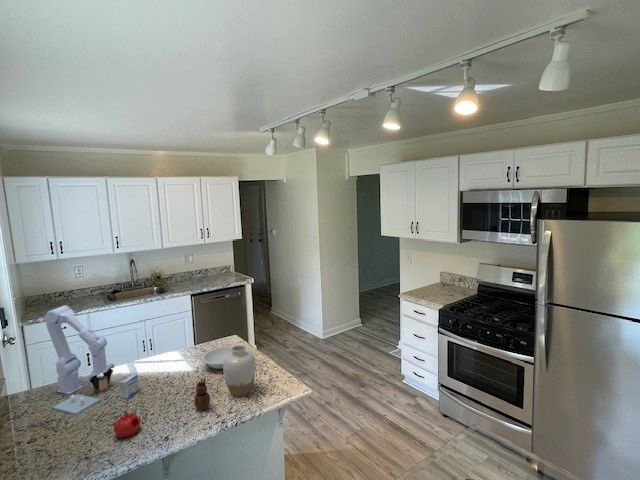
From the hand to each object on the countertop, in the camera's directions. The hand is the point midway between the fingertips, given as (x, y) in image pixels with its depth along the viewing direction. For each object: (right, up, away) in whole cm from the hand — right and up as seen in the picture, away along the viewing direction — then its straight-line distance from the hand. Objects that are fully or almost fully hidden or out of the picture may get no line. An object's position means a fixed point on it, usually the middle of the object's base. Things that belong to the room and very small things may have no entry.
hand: (102, 386), depth 182 cm
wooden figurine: (+59, -2, -19) cm, 62 cm away
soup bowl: (+57, +2, +24) cm, 62 cm away
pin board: (-4, -3, -13) cm, 14 cm away
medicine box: (+17, -2, -5) cm, 18 cm away
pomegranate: (+33, -5, -35) cm, 48 cm away
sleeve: (0, -2, 0) cm, 2 cm away
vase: (+74, 0, -6) cm, 74 cm away
